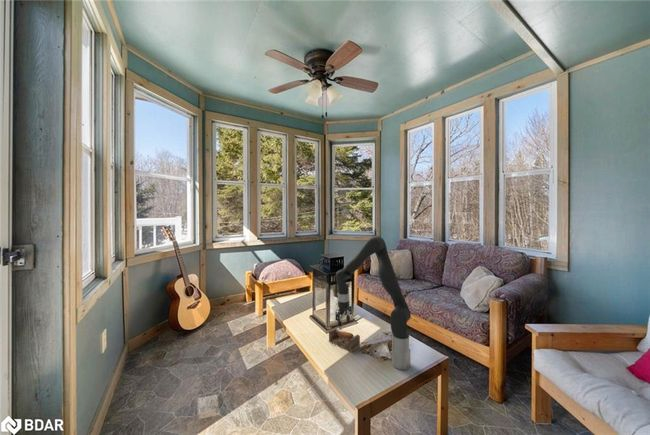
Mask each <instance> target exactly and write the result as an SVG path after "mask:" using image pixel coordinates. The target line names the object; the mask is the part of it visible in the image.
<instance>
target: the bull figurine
mask: <svg viewBox="0 0 650 435" xmlns="http://www.w3.org/2000/svg"><path fill="white" fill-rule="evenodd" d="M336 332H338V335H339V337H340V341H339V342H341V338H342V341H344V340H343V338H344V339H346V340H347V339H349V340H350V339H351V338H353V337H354V336H355V335H354V334H353V333H351V332H346V331H344V330H343V329H342V328H340V329H339V328H337V330H336ZM348 343H349V342H348Z"/></svg>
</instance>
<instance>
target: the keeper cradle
mask: <svg viewBox="0 0 650 435" xmlns="http://www.w3.org/2000/svg"><path fill="white" fill-rule="evenodd" d="M337 328H339V329H341V327H340V326H338V325H337V326H335V327H333V328H331V329H330V330H329V331H328V342H329V343H332V345H333V344H334V345H336V346H337V347H340V348H342V349H343V350H345V351H348V352H350V353H353V352H354V351H356V350H357V349H359V348H360V346H361V335H359V334H356V335H354V337H353V338H351V339H350V340H349V339H347V340H346V339H344V338H343V340H344V341H342V338H341V342H339V341H340V337H339V335H338V332H336V330H337ZM348 342H349V343H348Z"/></svg>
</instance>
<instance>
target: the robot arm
mask: <svg viewBox="0 0 650 435" xmlns="http://www.w3.org/2000/svg"><path fill="white" fill-rule="evenodd" d="M388 252H389V251H388V249H387V245H386V242H385V240H384V238H383V237H381V236H372V237H370V238H369V239H368V240H367V241H366V242H365V243H364V245H363V246H362V248H361V249H360V250H359V251H358V253H356V254H355V256H353V257H352V258H351V259H350V260H349V261H348V262H347V263H346V265H345V267H344V268H341V269H339V270H337V272H336V273H335V281H336V285H337V307H338V308H339V309H338V310H336V311H335V321H337V326H338V327H340V328H341V327H343V325H342V319H344V317H345V316H346V319H345V320H346V323H350V321H351V316H352V315H353V308H352V306H351V305H350V289H349V284H348V283H347V282H346V281H347V280H348V279H349V278H351V276H352V275H353V274H354V272H356V271H357V270H359V268H361V267H362V265H364V262H365V261H366V260H367V259H368V258H369V257H370V256H372V255H374V254H375V255H376V258H377V263H378V276H379V279H380V282H381V285H382V287H383V289H384V291H386V292H387V294H388V295H389V296H390V298H391V300H392V303H393V307H394V308H393V310H391V312H390V330H391V335H392V337H391V344H392V345H391V349H392V350H391V357H392V358H391V364H392V366H393V368H395V369H399V370H404V371H407V370H408V369H409V368H410V366H411V348H410V331H409V329H408V327H407V326H408V325H407V324H408V323H407V322H409V321H410V319H411V317H412V316H411V315H412V314H411V310H410V308H409V306H408V304H407V301H406V299H405V297H404V294H403V292H402V289H401V286H400V283H399V281H398V277H397V275H396V272H395V269H394V266H393V264H392V262H391V259H390V255H389V253H388Z"/></svg>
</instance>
